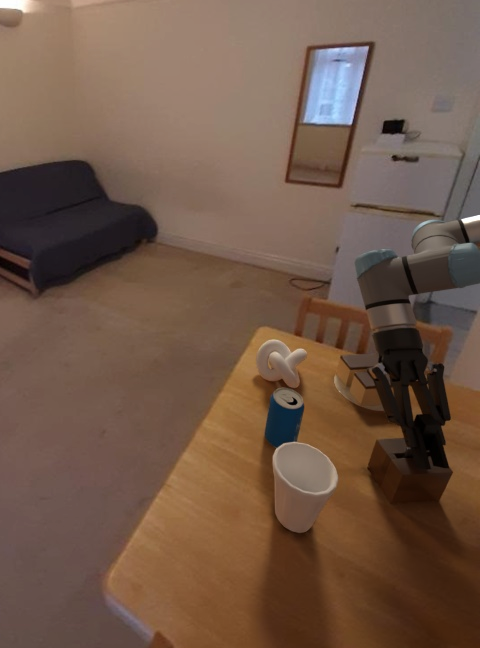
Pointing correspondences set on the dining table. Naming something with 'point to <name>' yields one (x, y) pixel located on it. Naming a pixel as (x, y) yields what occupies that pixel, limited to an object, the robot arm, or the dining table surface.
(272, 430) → the beverage can
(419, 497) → the knife block
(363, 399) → the cake
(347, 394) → the plate
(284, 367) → the white knot sculpture
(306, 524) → the cup
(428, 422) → the knife
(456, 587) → the dining table surface
